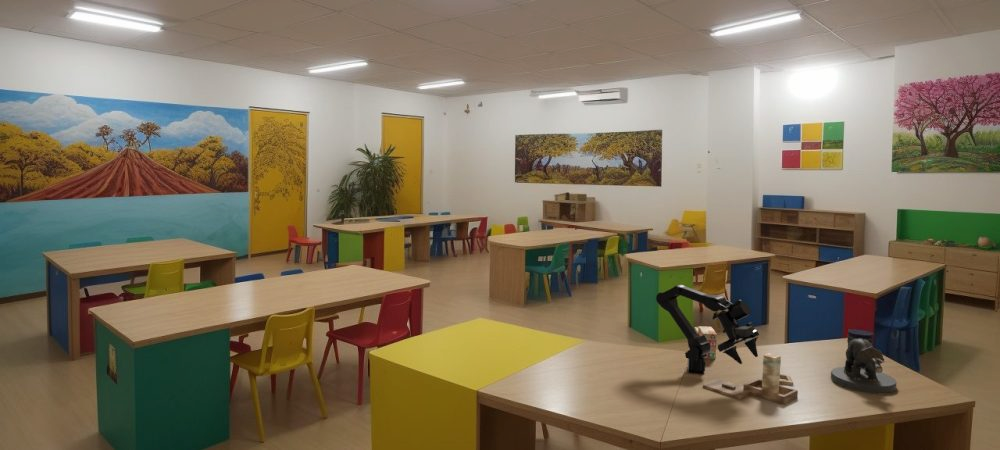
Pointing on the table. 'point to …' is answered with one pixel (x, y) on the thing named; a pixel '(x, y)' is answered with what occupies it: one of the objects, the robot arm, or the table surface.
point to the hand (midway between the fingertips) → (749, 360)
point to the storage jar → (859, 336)
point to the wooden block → (771, 373)
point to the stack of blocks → (710, 336)
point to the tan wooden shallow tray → (781, 398)
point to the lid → (727, 388)
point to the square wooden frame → (788, 381)
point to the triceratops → (863, 369)
